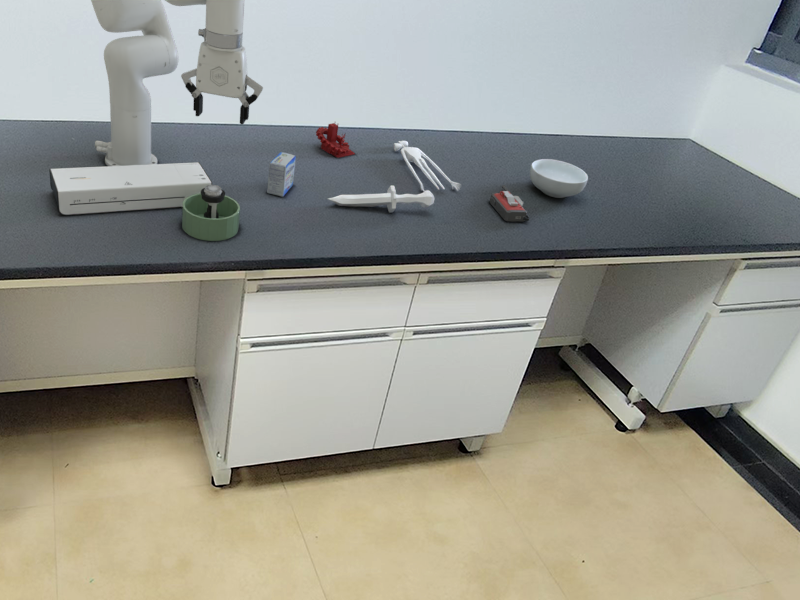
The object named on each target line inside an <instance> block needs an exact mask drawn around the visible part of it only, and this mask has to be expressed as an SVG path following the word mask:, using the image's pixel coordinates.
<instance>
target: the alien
mask: <svg viewBox="0 0 800 600" xmlns="http://www.w3.org/2000/svg"><path fill="white" fill-rule="evenodd" d="M393 151H394V152H398V151H400V153H401V155H402V157H403V160H404V162H405V164H406V165H407V167H408V169H409V170H410V171H411V173H412V174H413V176H414V178H415V179H416V180H417V182H418V184H419V185H420V186H419V187H420V188H419V189H420V191H421V192H422V191H423V192H424V191H425V187H424V184H423V182H422V181H421V179H420V177H419V176H418V174H417V173H416V171H415V169H414V168H413V165H411V163H413V164H414V165H416V167H418V168H419V169H420V170H421V172H422V173H423V174H424V176H425V177H426V178H427V179H428V180H429V181H430V182H431V183H432V184H433V186H434V187H435V188H436V189H437V190H439V191H440V188H442V190H443V191H444V190H445V189H446V188H445V187H444V185H443V183H441V181H440V179H438V177H437V176H436V174H435V173H434V171H432V169H431V168H430V167H429V166H428V163H427V162H426V160H427V161H428V162H429V163H430V164H431V166H433V168H434V169H435V170H436V171H437V172H438V173H439V174H441V175H442V177H443V178H444V179H445V180H447V182H449V184H450V185H451V187H452V190H454V188H455V190H456V191H459V189H460V188H462V184H461V183H459V182H455V181H452V180H451V179H450V178H449V176H447V175H446V173H444V171H443V170H442V169H441V168H440V167H439V166H438V165H437V163H435V161H433V160H432V159H431V158H430V157H429V156H428V155H427V154H425V152H424V151H422V150H421V149H420V148H418V147H413V146H409V142H408V141H407V140H398V141H397V142H395V143H393ZM425 159H426V160H425ZM437 184H438V185H439V186H438V185H437Z"/></svg>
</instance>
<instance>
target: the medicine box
mask: <svg viewBox="0 0 800 600" xmlns="http://www.w3.org/2000/svg"><path fill="white" fill-rule="evenodd" d="M296 159H297V155H294V154H291V153H287V152H283V151H280V152H279V153H278V154H277V155H276V156H275V157H274V158H273V159H271V161H269V164H268V174H267V175H268V177H267V188H266V189H267V191H266V192H267V194H270V195H273V196H277V197H281V198H284V197H285V195H286V194H287V193H288V192H289V190H290V189H291V188H292V187H293V186H294V178H295V169H296V168H295V167H296Z"/></svg>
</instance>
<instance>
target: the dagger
mask: <svg viewBox="0 0 800 600" xmlns="http://www.w3.org/2000/svg"><path fill="white" fill-rule="evenodd" d="M424 190H425V189H424ZM327 200H328V201H330V202H332V203H334V204H336V205H337V206H341V207H362V208H363V207H366V208H367V207H368V208H370V207H371V208H372V207H377V206H386V208H387V210H388V213H394V212H395V210H396V209H397V205H398V204H402V205H411V204H412V205H413V204H418V205H420V206H421V208H424V209H427V208H428V207H430V206H432V205H434V203H435V196H434V193H432V192H431V191H430V190H429V189H426V190H425V191H423V192H422V191H421V193H418V194H414V193H413V194H412V193H404V194H397V191H396V187H395V185H389V187H388V189H387V191H386V192H385V193H384V192H383V193H364V194H363V193H361V194H340V195H337V196H333V197H329V198H327Z"/></svg>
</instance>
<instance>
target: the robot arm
mask: <svg viewBox="0 0 800 600" xmlns="http://www.w3.org/2000/svg"><path fill="white" fill-rule="evenodd" d="M90 2H91V5H92V7H93V10H94V14H95V16H96V19H97V21H98V23H99V25H100V27H101V28H102V30H104V31H106V32H108V33H114V34H115V33H116V34H117V33H119V34H120V33H131V32H138V31H141V33H142V35H134V36H133V35H132V36H125V37H118V38H116V39H113V40H111V41H110V42H108V43H107V45H105V47H104V49H103V61H104V65H105V69H106V75H107V80H108V89H109V90H108V91H109V93H108V94H109V110H110V111H109V113H110V114H109V115H110V116H109V117H110V118H109V119H110V141H108V142H105V141H103V140H95V141H94V148H95V149H96V152H97V153H103V154H105V156H104V163H105V165H106V166H128V165H151V164H158V158H157V156H156V155H155V154H153V153H152V96H151V94H150V93H151V92H149V91H150V90H149V89H148V88H147V87H146V85H145V84H144V82H143V80H144V79H147V78H152V77H159V76H165V75H169V74H172V73H173V72H175V71H176V69H177V68H178V65H179V53H178V47H177V44H176V40H175V37H174V35H173V31H172V28H171V25H170V24H171V23H170V22H169V19H168V15H167V12H166V9H165V6H164V4H163V2H162V0H90ZM164 2H167V3H168V4H170V5H172V6H176V7H188V6H189V7H191V6H201V5H202V6H205V28H202V29H201V28H198V32H197V33H198V34H197V35H198V36H200V37H202V38H203V41H202V42H201V43H200V47H199V51H198V57H197V65H196V68H194V69H191V70H187V71H185V72H182V74H181V75H180V78H181V79H182V82H183V83H184V85H185V89H186V90H187V91H188V92H189V93H190V94H191V97H192V98H193V105H192V106H193V108H192V109H193V111H194V112H195V117H200V116H201V115H202V113H203V111H204V109H203V108H204V95H203V93H204V94H209V95H213V96H214V95H215V96H220V97H225V98H231V99H238V100H239V101H240V103H241V105H240V109H239V124H240V125H244V124H245V122H246V121H248V120H249V116H250V105H251V104H253V103H254V102H256V101H257V100H258V98H259V96H260V95H261V93H262V92H263V90H264V87H263V86H262V85H261V84H260V83H259V82H256V81H255V80H253V79H252V77H249V76H248V62H247V60H248V59H247V51H246V47H245V46H243V39H244V38H243V37H244V20H245V19H244V17H245V0H164ZM194 77H195V84H194V83H193V81H192V80H191V78H194ZM248 87H249V88H251V89H252V90H253V93H252V94H251V95H250V96H249V94H248V92H247V89H248Z"/></svg>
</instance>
